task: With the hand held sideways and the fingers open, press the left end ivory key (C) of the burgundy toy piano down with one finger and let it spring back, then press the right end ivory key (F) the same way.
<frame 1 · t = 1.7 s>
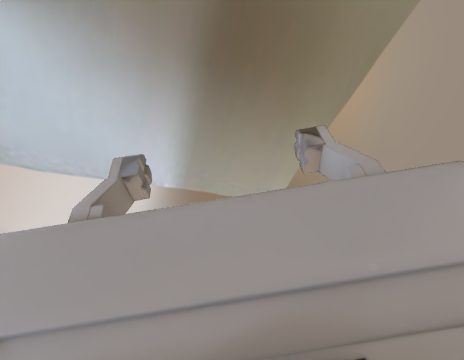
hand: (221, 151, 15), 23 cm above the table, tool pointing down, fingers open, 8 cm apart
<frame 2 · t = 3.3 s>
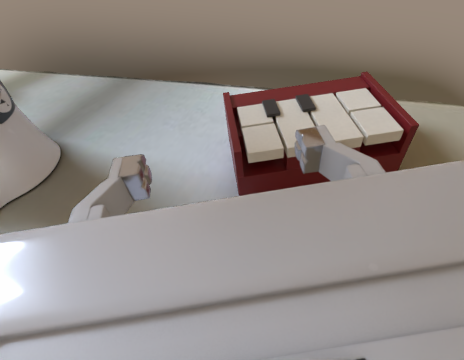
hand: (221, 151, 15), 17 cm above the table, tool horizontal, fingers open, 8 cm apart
toy piano: (303, 154, 38), on the table
c key: (261, 142, 31), point 6 cm above the table, slide at 0.1 cm
f key: (374, 125, 31), point 6 cm above the table, slide at 0.1 cm
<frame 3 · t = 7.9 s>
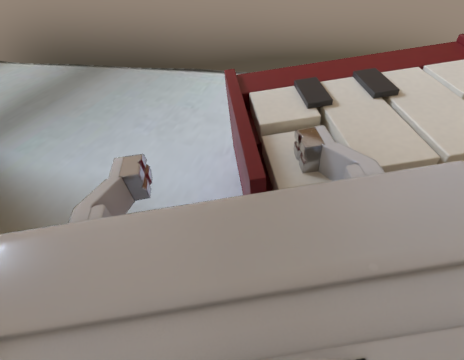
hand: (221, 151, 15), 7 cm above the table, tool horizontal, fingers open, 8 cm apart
toy piano: (359, 173, 23), on the table
c key: (302, 164, 16), point 6 cm above the table, slide at -0.5 cm, touching gripper
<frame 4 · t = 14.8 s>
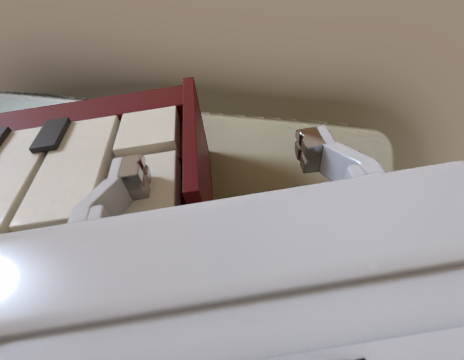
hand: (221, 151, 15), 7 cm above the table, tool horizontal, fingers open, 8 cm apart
toy piano: (94, 216, 23), on the table
f key: (145, 189, 16), point 6 cm above the table, slide at -0.4 cm, touching gripper
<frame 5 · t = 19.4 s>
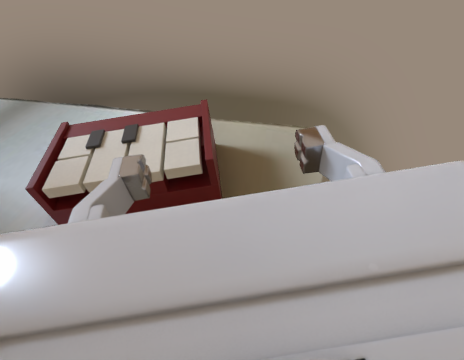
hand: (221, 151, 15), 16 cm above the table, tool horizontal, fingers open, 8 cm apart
toy piano: (148, 182, 38), on the table
c key: (69, 176, 31), point 6 cm above the table, slide at 0.1 cm
f key: (183, 157, 31), point 6 cm above the table, slide at 0.1 cm
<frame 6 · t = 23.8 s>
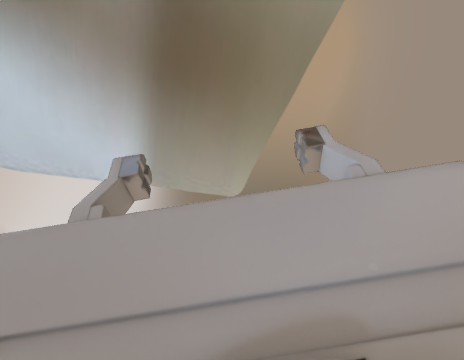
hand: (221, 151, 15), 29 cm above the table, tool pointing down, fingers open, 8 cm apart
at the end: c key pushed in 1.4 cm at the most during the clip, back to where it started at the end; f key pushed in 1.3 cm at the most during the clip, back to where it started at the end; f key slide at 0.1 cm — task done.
